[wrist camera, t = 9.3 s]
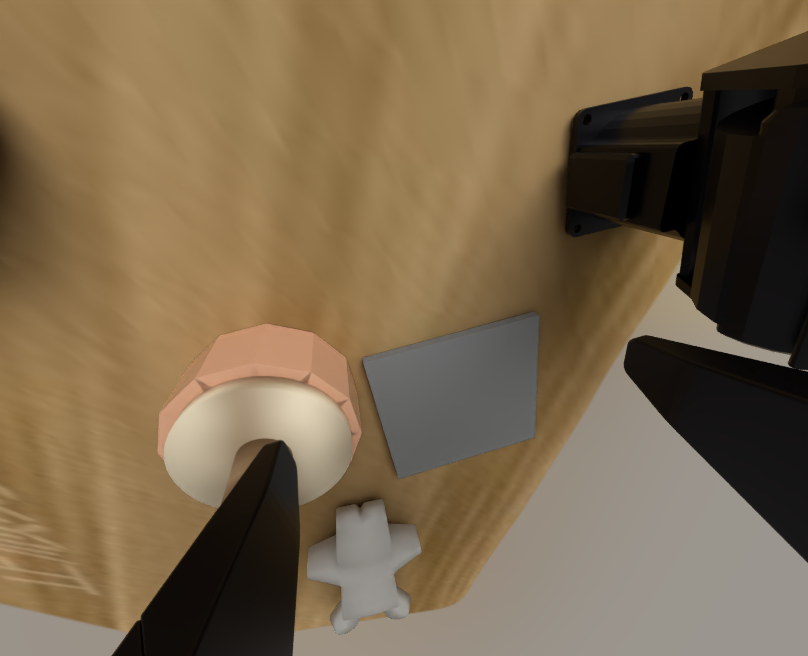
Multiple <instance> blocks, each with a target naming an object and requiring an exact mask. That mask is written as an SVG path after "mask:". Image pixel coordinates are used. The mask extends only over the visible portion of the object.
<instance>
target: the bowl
mask: <svg viewBox="0 0 808 656" xmlns="http://www.w3.org/2000/svg"><path fill="white" fill-rule="evenodd" d="M252 376H275V377H284V378H289V379H294V380H298V381H301V382H304V383H307V384H309V385H312V386H314V387H316V388H318V389H320V390H321V391H323V392H325V393H326V394H328V395H329V396H330V397H331V398H333V399H334V400H335V401H336V402H337V403H338V404H339V405H340V407H341V408H342V409H343V411H344V412H345V414H346V416H347V418H348V421H349V424H350V428H351V439H352V457H351V460H352V458H353V455H354V452H355V450H356V447H357V444H358V442H359V439H360V436H361V434H362V430H361V422H360V414H359V406H358V398H357V390H356V387H355V384H354V381H353V378H352V375H351V372H350V369H349V366H348V363H347V360H346V357H344V356H343V355H342V354H340V353H339V352H338V351H336V350H335V349H334V348H333V347H331V346H330V345H329V344H327V343H326V342H325V341H324V340H322V339H321V338H320V337H318V336H317V335H316V334H315V333H312V332H307V331H302V330H297V329H291V328H286V327H281V326H276V325H271V324H263V325H259V326H255V327H251V328H247V329H243V330H239V331H236V332H232V333H228V334H224V335H220V336H218V337H217V338H216V339H215V340H214V341H213V342H212V343H211V344H210V345H209V346H208V347H207V348H206V349H205V350H204V351H203V352H202V353H201V354H200V355H199V356H198V357H197V358H196V359H195V360H194V361H193V362H192V363H191V364H190V365H189V366H188V368H187V370H186V371H185V373H184V374H183V376H182V378H181V379H180V381H179V382H178V384H177V385H176V387H175V389H174V390H173V392H172V393H171V395H170V397H169V398H168V400H167V401H166V403H165V405H164V406H163V408H162V409H161V411H160V412H159V432H158V454H159V455H160V456H161V457H162V458H163V460H164V446H165V442H166V439H167V436H168V434H169V432H170V430H171V428H172V427H173V425H174V423H175V421H176V419H177V418H178V416H179V414H180V413H181V411H182V410H183V409H184V407H185V406H186V405H187V404H188V403H189V402H190V401H191V400H193V399H194V398H195V397H196V396H197V395H199V394H201V393H202V392H204V391H205V390H207V389H209V388H211V387H213V386H216V385H218V384H221V383H224V382H227V381H230V380H234V379H239V378H244V377H252ZM351 460H350V463H351ZM349 465H350V464H349Z"/></svg>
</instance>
